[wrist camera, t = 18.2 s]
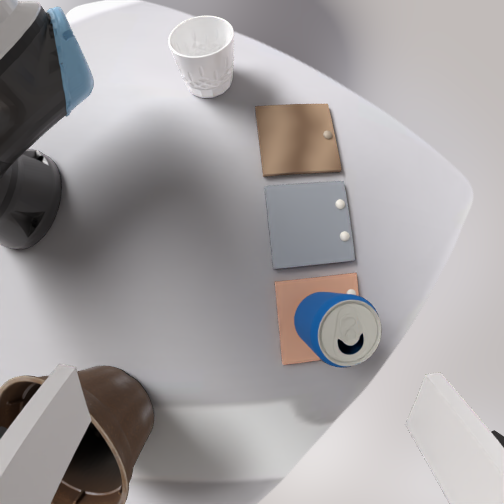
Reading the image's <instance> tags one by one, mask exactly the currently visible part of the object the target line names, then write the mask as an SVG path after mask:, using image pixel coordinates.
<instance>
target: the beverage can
mask: <svg viewBox="0 0 504 504" xmlns="http://www.w3.org/2000/svg"><path fill="white" fill-rule="evenodd" d="M294 325H295V329H296V332H297V334H298V335H299V337H300V338H301V339H302V340H303V341H304V342H305V343H306V344H307V345H308V346H309V347H310V348H311V350H312V351H313V352H314V353H315V354H316V355H317V356H318V357H319V358H320V359H321V360H322V361H324V362H325V363H327V364H329V365H331V366H335V367H351V366H354V365H358V364H360V363H362V362H364V361H366V360H367V359H368V358H369V357H370V356H371V355H372V354H373V353H374V352H375V350H376V349H377V347H378V345H379V342H380V339H381V332H382V329H381V322H380V319H379V316H378V314H377V311H376V310H375V308H374V307H373V306H372V304H371V303H370V302H368V301H367V300H366V299H364V298H362V297H360V296H357V295H353V294H343V293H332V292H316V293H313V294H310V295H309V296H307V297H306V298H304V299H303V300H302V301H301V303H300V304H299V305H298V307H297V309H296V312H295V316H294Z"/></svg>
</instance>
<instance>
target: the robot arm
mask: <svg viewBox="0 0 504 504" xmlns="http://www.w3.org/2000/svg"><path fill="white" fill-rule="evenodd" d="M93 86H94V80H93V76H92V74H91V71H90V69H89V66H88V64H87V62H86V59H85V57H84V55H83V53H82V51H81V49H80V46H79V44H78V42H77V40H76V38H75V36H74V35H73V32H72V30H71V28H70V25H69V23H68V21H67V19H66V16H65V14H64V13H63V11H62V9H61V8H60V7H55V8H53V9H52V8H51V9H49V10H48V11H47V13H46V12H45V11H44V9H43V8H42V6H41V5H40V3H39V2H36V1H28V2H19V1H17V0H0V245H2V246H4V247H8V248H13V249H25V248H28V247H30V246H32V245H34V244H35V243H37V242H38V241H39V240H40V239H41V238H42V237H43V236H44V235H45V234H46V232H47V231H48V229H49V228H50V226H51V224H52V222H53V220H54V218H55V216H56V213H57V210H58V207H59V203H60V197H61V178H60V173H59V170H58V168H57V166H56V164H55V163H54V161H53V160H52V159H51V158H49V157H48V156H46V155H45V154H43V153H42V152H40V151H37V150H33V149H28V148H29V147H30V146H32V145H33V144H34V143H35V142H36V141H37V140H38V139H39V138H40V137H41V136H42V135H43V134H44V133H46V132H47V131H48V130H49V129H50V128H51V127H52V126H54V125H55V124H56V123H57V122H58V121H59V120H61V119H62V118H63V117H64V116H68V115H69V114H70V113H71V110H73V109H74V108H75V107H76V106H77V105H78V104H80V103H81V102H82V101H83V100H84V99H86V98H87V97H88V96H89V95H90V93H91V92H92V89H93ZM90 422H91V417H90V414H89V411H88V408H87V405H86V401H85V398H84V395H83V391H82V388H81V384H80V381H79V377H78V373H77V369H76V367H73V366H68V365H63V364H59V365H58V366H57V367H56V368H55V369H54V371H53V372H52V373H51V374H50V375H49V377H48V378H47V379H46V380H45V382H44V383H43V384H42V385H41V387H40V388H39V389H38V390H37V392H36V393H35V394H34V395H33V397H32V398H31V399H30V401H29V402H28V403H27V404H26V406H25V407H24V408H23V410H22V411H21V412H20V413H19V415H18V416H17V417H16V419H15V420H14V421H13V423H12V424H11V425H10V427H9V428H8V429H7V428H5V427H2V426H1V427H0V504H51V502H52V499H53V497H54V495H55V493H56V491H57V489H58V486H59V484H60V482H61V480H62V478H63V476H64V474H65V472H66V470H67V468H68V466H69V464H70V461H71V459H72V457H73V455H74V453H75V451H76V449H77V447H78V445H79V443H80V441H81V440H82V438H83V436H84V434H85V432H86V430H87V428H88V426H89V424H90ZM405 426H406V427H407V429H408V431H409V433H410V434H411V436H412V438H413V439H414V441H415V443H416V444H417V446H418V448H419V450H420V452H421V453H422V455H423V457H424V459H425V460H426V462H427V464H428V466H429V467H430V469H431V471H432V473H433V474H434V476H435V478H436V480H437V482H438V484H439V486H440V487H441V489H442V491H443V493H444V494H445V496H446V498H447V500H448V502H449V504H504V436H502V435H501V434H499V433H498V432H496V431H492V432H491V431H490V430H489V429H488V428H487V426H486V425H485V424H484V423H483V422H482V420H481V419H480V418H479V417H478V416H477V414H476V413H475V412H474V411H473V410H472V409H471V407H470V406H469V405H468V404H467V403H466V401H465V400H464V399H463V398H462V397H461V395H460V394H459V393H458V392H457V391H456V390H455V389H454V388H453V386H452V385H451V384H450V383H449V382H448V381H447V379H446V378H445V377H444V376H443V375H442V374H441V373H440V372H438V373H432V374H426V375H425V377H424V380H423V383H422V385H421V388H420V390H419V393H418V395H417V398H416V400H415V403H414V405H413V408H412V410H411V412H410V415H409V417H408V419H407V421H406V424H405Z"/></svg>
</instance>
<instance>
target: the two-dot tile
mask: <svg viewBox="0 0 504 504" xmlns="http://www.w3.org/2000/svg"><path fill="white" fill-rule="evenodd" d="M265 197H266V206H267V215H268V224H269V233H270V243H271V252H272V262H273V269H280V268H290V267H300V266H309V265H319V264H328V263H337V262H346V261H354V260H355V254H354V246H353V238H352V231H351V224H350V217H349V210H348V204H347V198H346V191H345V186H344V181H334V182H316V183H300V184H286V185H273V186H265Z"/></svg>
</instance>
